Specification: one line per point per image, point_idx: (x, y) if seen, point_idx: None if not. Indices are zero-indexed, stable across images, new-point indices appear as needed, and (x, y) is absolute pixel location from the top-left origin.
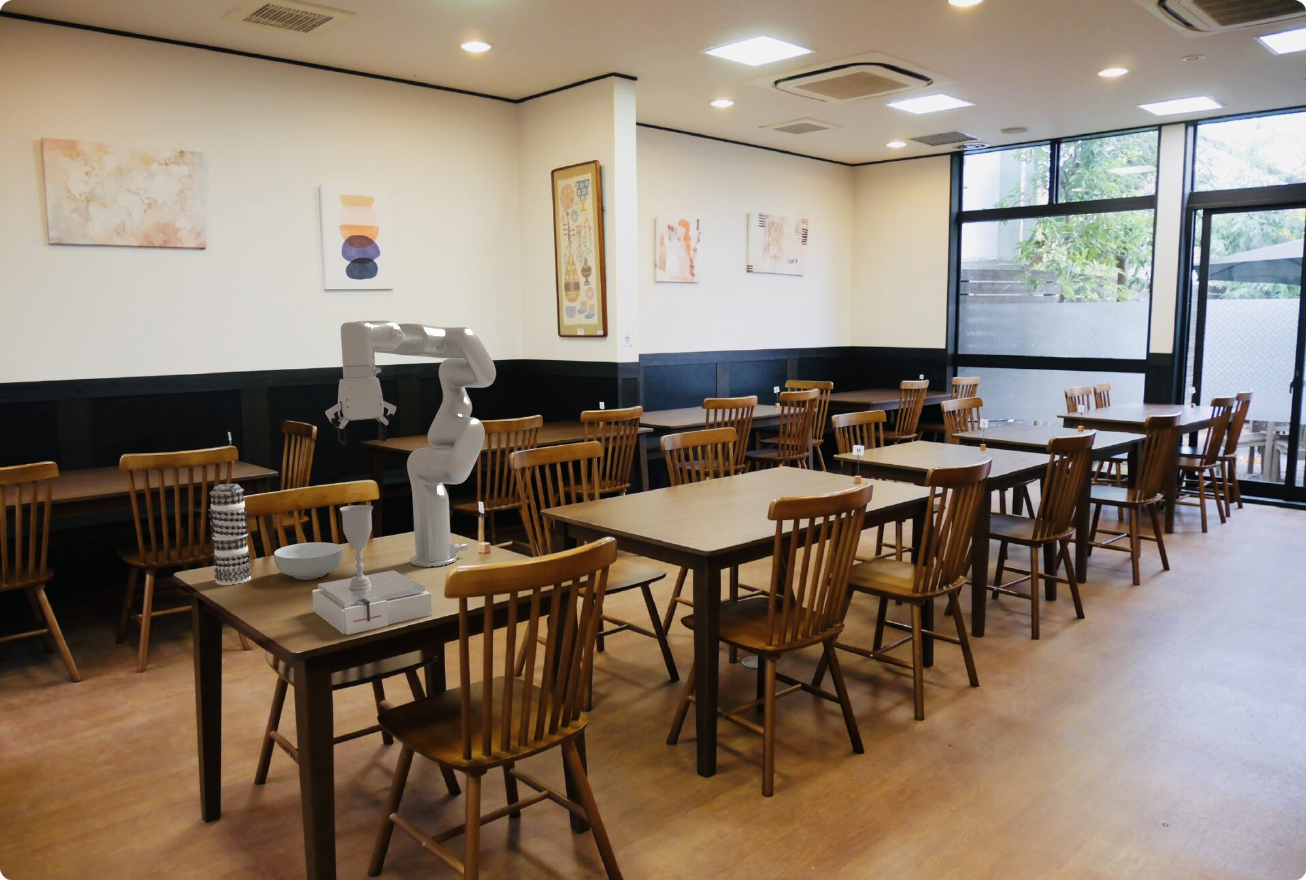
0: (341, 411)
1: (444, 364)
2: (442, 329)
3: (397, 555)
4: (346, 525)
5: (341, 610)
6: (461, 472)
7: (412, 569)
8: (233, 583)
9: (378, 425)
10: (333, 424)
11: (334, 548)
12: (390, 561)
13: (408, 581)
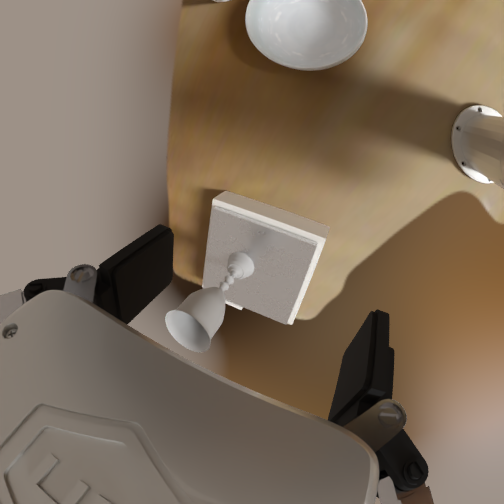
0: (25, 321)
1: None
2: None
3: (474, 58)
4: (182, 313)
5: (202, 284)
6: None
7: (437, 144)
8: (215, 1)
9: (359, 388)
10: (59, 278)
11: (361, 17)
12: (447, 73)
13: (290, 298)
